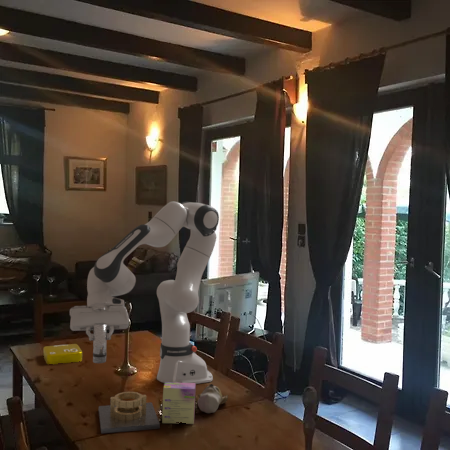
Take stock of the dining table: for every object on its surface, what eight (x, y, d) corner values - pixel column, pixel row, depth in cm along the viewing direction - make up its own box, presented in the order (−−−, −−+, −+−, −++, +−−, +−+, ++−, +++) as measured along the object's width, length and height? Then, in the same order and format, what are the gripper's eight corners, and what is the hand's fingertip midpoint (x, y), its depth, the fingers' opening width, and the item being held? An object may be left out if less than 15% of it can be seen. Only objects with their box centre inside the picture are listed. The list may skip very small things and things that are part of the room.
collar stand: (151, 406, 186) (152, 385, 185) (159, 428, 168) (160, 405, 168) (98, 410, 181) (99, 388, 180) (101, 433, 164) (101, 409, 163)
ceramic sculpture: (192, 388, 180) (201, 376, 195) (190, 413, 180) (200, 400, 195) (222, 391, 178) (230, 379, 193) (221, 417, 178) (229, 403, 193)
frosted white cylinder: (106, 358, 188) (106, 322, 187) (106, 363, 184) (107, 325, 183) (92, 359, 187) (93, 323, 186) (92, 363, 183) (93, 326, 182)
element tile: (76, 352, 246) (76, 342, 246) (83, 362, 233) (83, 351, 233) (42, 355, 240) (42, 345, 240) (47, 365, 226) (47, 354, 226)
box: (194, 417, 178) (195, 382, 178) (194, 424, 172) (195, 388, 172) (163, 416, 178) (164, 381, 177) (161, 423, 172) (162, 387, 172)
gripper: (69, 301, 188) (68, 336, 179) (128, 300, 194) (130, 333, 185) (69, 311, 193) (68, 345, 184) (127, 309, 198) (128, 342, 189)
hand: (100, 339), depth 184 cm, fingers closed on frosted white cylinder, 4 cm apart
